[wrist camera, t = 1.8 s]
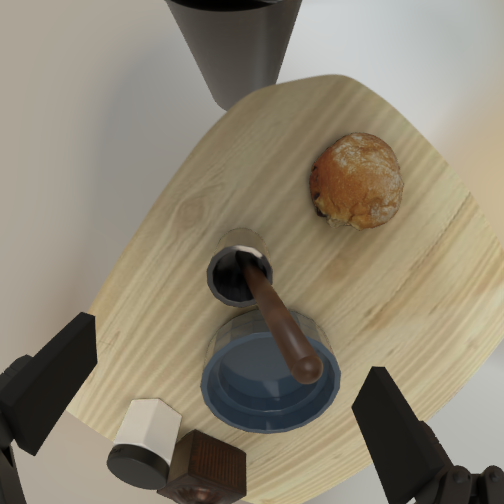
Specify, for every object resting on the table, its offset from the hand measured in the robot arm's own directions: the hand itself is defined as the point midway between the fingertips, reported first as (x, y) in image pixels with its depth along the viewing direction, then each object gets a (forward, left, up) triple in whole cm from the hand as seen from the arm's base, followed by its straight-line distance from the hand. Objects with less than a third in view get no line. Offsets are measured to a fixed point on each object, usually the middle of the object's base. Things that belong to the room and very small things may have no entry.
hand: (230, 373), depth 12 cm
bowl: (+13, +6, -21) cm, 25 cm away
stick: (0, 0, -20) cm, 20 cm away
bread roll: (-10, +10, -21) cm, 25 cm away
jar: (+28, -8, -21) cm, 36 cm away
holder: (0, 0, -21) cm, 21 cm away
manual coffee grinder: (+37, +3, -21) cm, 42 cm away
